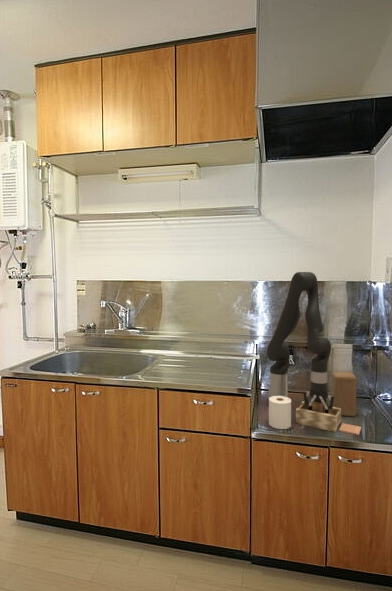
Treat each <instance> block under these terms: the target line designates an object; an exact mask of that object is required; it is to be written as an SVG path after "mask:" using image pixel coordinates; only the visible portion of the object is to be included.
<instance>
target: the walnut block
mask: <svg viewBox="0 0 392 591" xmlns="http://www.w3.org/2000/svg"><path fill="white" fill-rule="evenodd" d="M312 411H316V412H321V413H325V407H324V405H323V403H322V402H317V401H313V402H312Z"/></svg>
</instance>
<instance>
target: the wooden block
mask: <svg viewBox="0 0 392 591" xmlns="http://www.w3.org/2000/svg"><path fill="white" fill-rule="evenodd" d="M332 395H334V396H335V397H334V404H333V407H337V408H341V417H342V416H345V417H346V416H347V417H356V415H357V414H356V413H357V377H356V375H354V373H353V372H352V371H338V370H337V371H336V370H334V371H332V372H331V396H332Z"/></svg>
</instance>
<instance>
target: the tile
mask: <svg viewBox="0 0 392 591" xmlns="http://www.w3.org/2000/svg"><path fill="white" fill-rule="evenodd" d="M338 430H339V432H341V433H347V434H352V435H355V434H356V436H360V433H361V430H362V426H360V425H359V426H358V425H353V424H349V423H344V422H342V423H341V425H340V426H339V429H338Z"/></svg>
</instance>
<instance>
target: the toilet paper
mask: <svg viewBox="0 0 392 591" xmlns="http://www.w3.org/2000/svg"><path fill="white" fill-rule="evenodd" d="M268 425H269V426H270V427H271V428H274V429H277V430H278V429H279V430H287V429H289V428H291V427H292V399H291V398H290V397H288V396H287V397H284V396H272V397H269V396H268Z"/></svg>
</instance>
